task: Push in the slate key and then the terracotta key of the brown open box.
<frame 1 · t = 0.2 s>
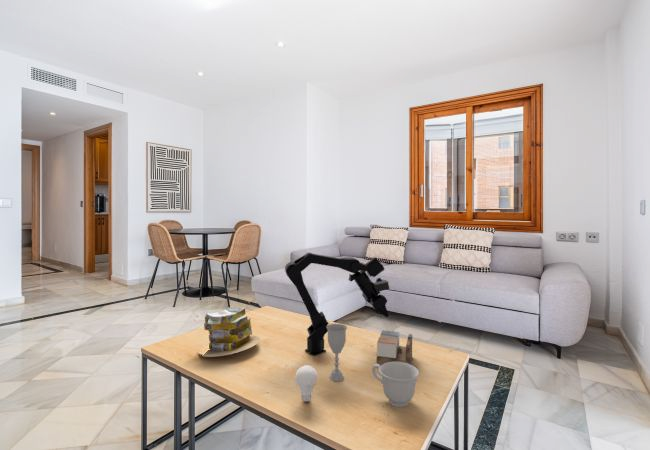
hand: (384, 313, 145), 14 cm above the table, tool tilted 35°, fingers open, 9 cm apart
teacup: (394, 401, 105), on the table
light bulb: (306, 402, 105), on the table
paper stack: (230, 350, 144), on the table
chalice: (336, 378, 119), on the table
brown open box: (388, 361, 132), on the table
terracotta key: (387, 347, 128), point 7 cm above the table, slide at 0.0 cm
slate key: (389, 339, 136), point 7 cm above the table, slide at 0.0 cm
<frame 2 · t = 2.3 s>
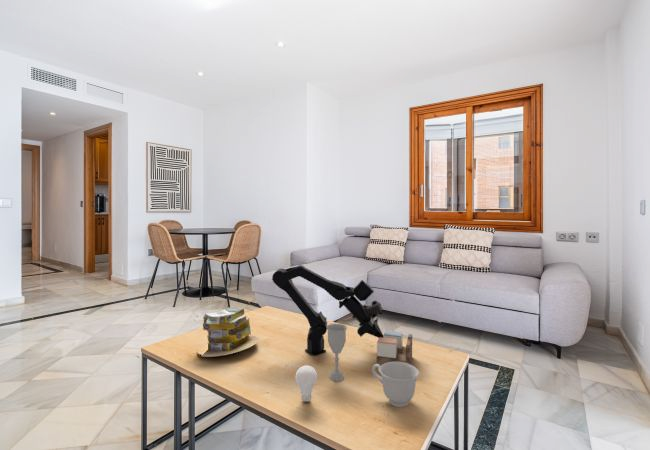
hand: (383, 338, 136), 7 cm above the table, tool tilted 45°, fingers closed, pressing on slate key
slate key: (392, 340, 135), point 7 cm above the table, slide at 1.2 cm, touching gripper
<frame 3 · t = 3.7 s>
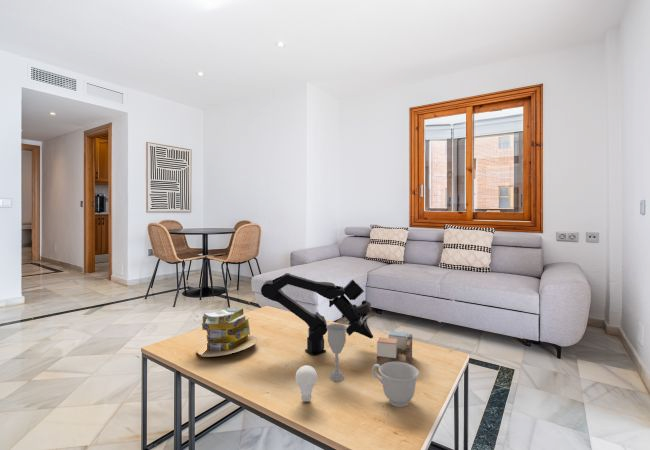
hand: (372, 337, 138), 7 cm above the table, tool tilted 45°, fingers closed
slate key: (398, 340, 135), point 7 cm above the table, slide at 3.2 cm
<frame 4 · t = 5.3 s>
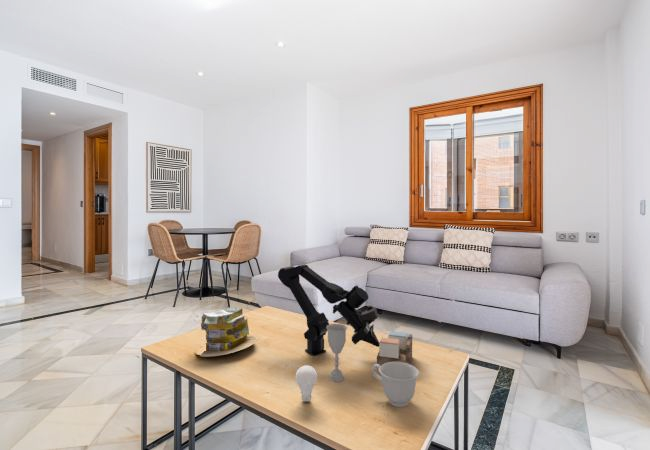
hand: (379, 346, 129), 7 cm above the table, tool tilted 45°, fingers closed, pressing on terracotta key
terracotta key: (389, 347, 128), point 7 cm above the table, slide at 0.9 cm, touching gripper
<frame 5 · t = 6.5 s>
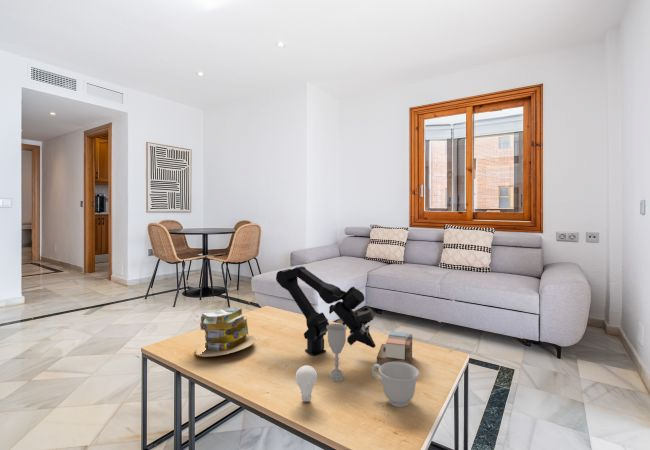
hand: (374, 346, 130), 7 cm above the table, tool tilted 45°, fingers closed
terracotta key: (395, 348, 127), point 7 cm above the table, slide at 3.2 cm
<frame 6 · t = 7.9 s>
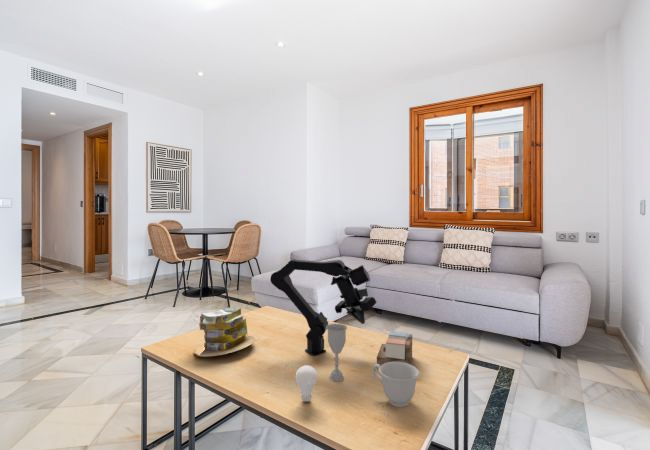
hand: (363, 323, 139), 12 cm above the table, tool tilted 25°, fingers closed
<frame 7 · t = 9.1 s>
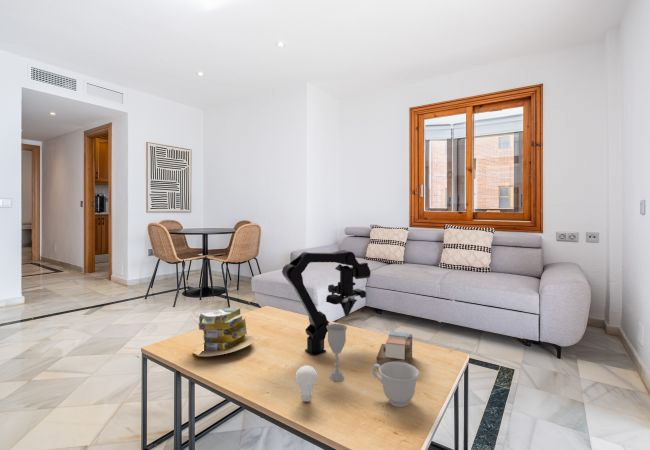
hand: (346, 316, 147), 13 cm above the table, tool pointing down, fingers closed
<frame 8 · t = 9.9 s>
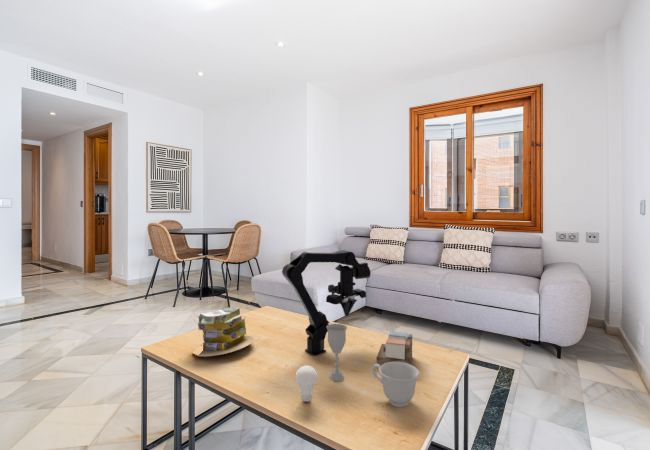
hand: (346, 316, 147), 13 cm above the table, tool pointing down, fingers closed
at the end: slate key slide at 3.2 cm; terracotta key slide at 3.2 cm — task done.
